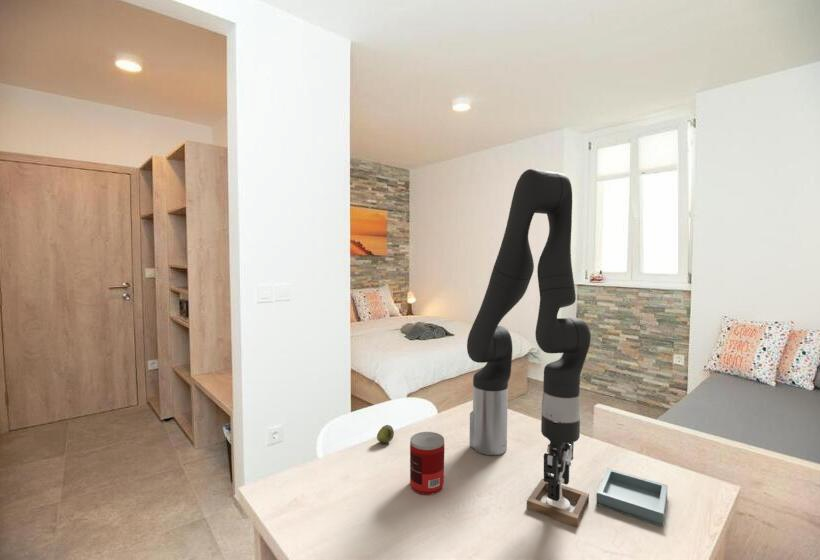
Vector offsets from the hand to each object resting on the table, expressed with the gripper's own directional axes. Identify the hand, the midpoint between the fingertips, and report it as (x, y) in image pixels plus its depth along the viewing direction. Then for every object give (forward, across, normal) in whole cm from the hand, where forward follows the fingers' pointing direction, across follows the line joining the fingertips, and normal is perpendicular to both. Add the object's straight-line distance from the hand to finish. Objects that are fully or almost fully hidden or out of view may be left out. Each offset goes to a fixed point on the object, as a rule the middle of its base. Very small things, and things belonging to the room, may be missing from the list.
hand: (558, 490), depth 85 cm
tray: (+3, -11, +12) cm, 17 cm away
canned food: (+3, +10, -26) cm, 29 cm away
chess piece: (+3, 0, 0) cm, 3 cm away
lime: (+4, -1, -48) cm, 48 cm away
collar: (+3, 0, 0) cm, 3 cm away
